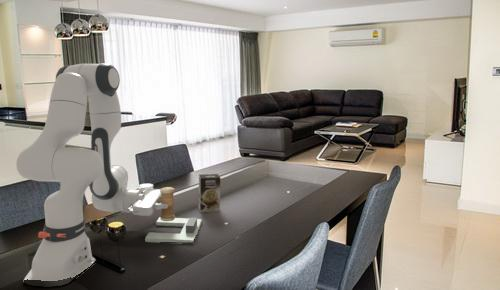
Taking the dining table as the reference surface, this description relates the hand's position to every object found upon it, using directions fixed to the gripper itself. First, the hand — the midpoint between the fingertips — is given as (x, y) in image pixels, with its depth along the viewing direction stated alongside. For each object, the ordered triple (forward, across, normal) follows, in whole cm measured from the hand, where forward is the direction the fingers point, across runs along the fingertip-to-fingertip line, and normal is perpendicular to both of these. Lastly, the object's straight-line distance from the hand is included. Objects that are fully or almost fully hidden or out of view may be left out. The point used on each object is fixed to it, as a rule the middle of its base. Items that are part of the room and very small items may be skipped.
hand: (169, 202), depth 155 cm
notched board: (+2, 0, +12) cm, 12 cm away
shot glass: (-20, +35, +12) cm, 42 cm away
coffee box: (+12, +24, +12) cm, 30 cm away
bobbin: (-1, 0, +6) cm, 7 cm away
